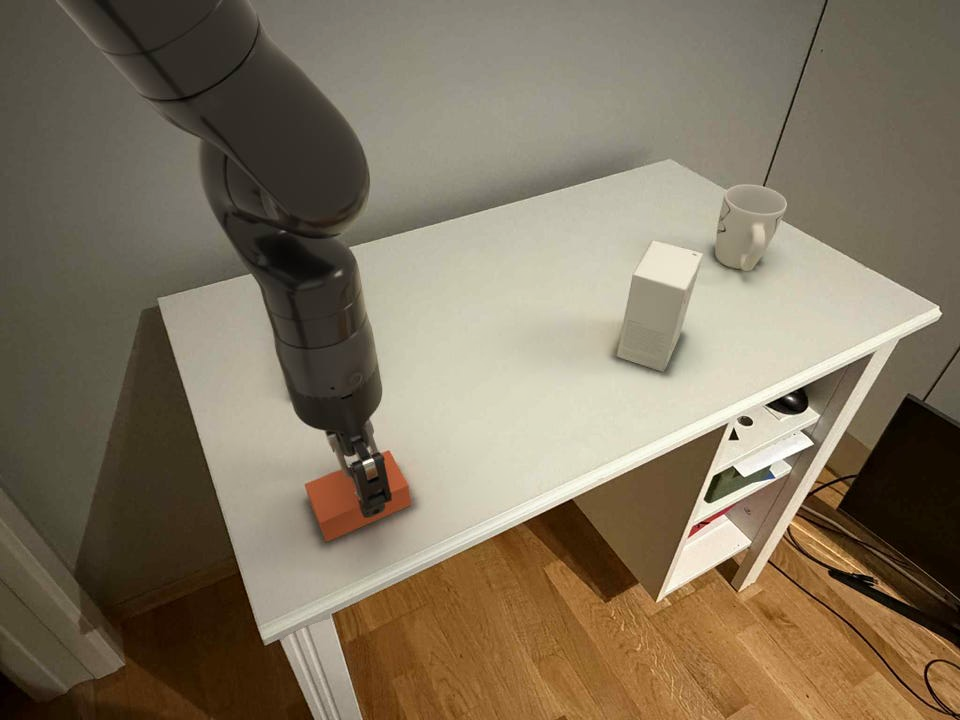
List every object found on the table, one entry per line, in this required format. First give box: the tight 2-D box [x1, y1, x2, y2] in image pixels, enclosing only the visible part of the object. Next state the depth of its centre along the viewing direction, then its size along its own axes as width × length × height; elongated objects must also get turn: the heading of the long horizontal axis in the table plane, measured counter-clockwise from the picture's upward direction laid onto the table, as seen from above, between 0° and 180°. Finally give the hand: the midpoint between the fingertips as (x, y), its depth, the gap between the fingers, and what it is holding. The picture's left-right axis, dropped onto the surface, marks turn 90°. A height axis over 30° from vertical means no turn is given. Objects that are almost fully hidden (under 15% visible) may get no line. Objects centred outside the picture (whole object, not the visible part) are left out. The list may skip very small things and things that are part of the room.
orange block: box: [304, 449, 412, 543], centre depth 64 cm, size 9×5×4 cm, turn 118°
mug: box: [714, 183, 788, 272], centre depth 92 cm, size 11×8×10 cm
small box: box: [616, 240, 704, 372], centre depth 78 cm, size 8×6×13 cm
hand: (357, 478), depth 62 cm, fingers open, 8 cm apart
